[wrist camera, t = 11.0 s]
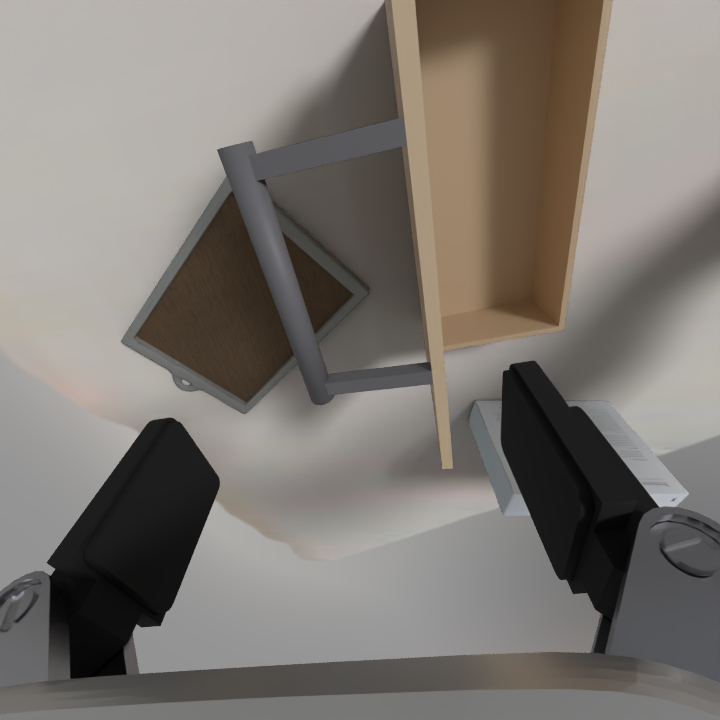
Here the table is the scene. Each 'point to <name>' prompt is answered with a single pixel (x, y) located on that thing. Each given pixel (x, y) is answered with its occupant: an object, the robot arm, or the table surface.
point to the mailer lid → (410, 135)
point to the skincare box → (610, 425)
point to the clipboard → (236, 306)
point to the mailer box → (508, 156)
